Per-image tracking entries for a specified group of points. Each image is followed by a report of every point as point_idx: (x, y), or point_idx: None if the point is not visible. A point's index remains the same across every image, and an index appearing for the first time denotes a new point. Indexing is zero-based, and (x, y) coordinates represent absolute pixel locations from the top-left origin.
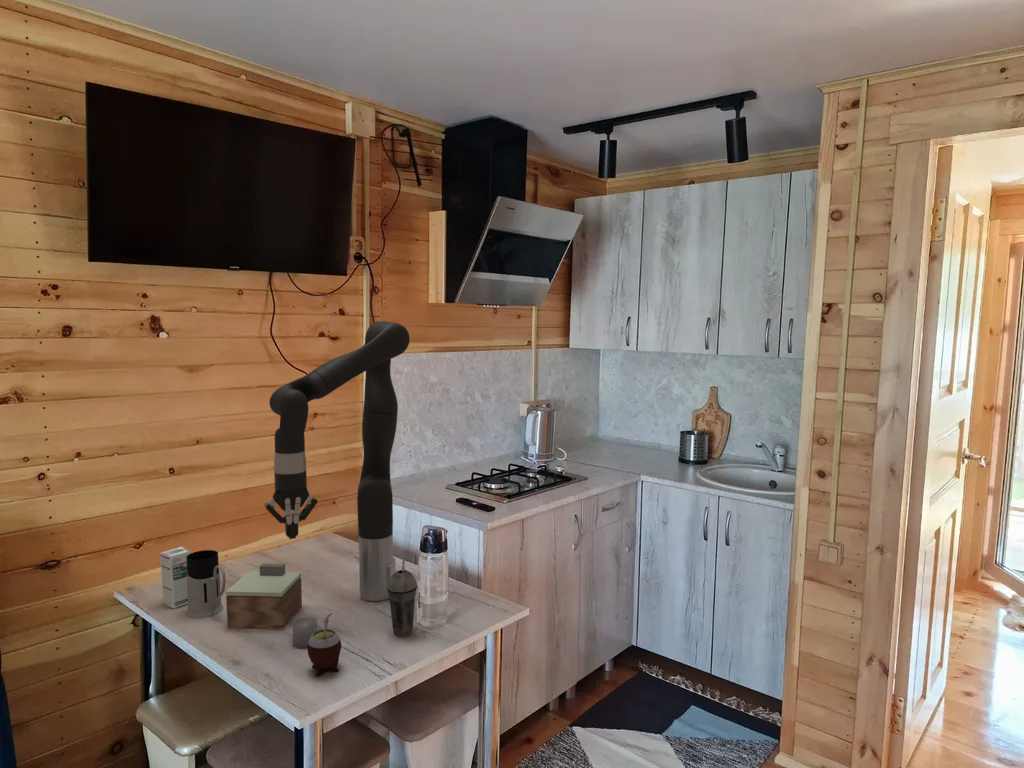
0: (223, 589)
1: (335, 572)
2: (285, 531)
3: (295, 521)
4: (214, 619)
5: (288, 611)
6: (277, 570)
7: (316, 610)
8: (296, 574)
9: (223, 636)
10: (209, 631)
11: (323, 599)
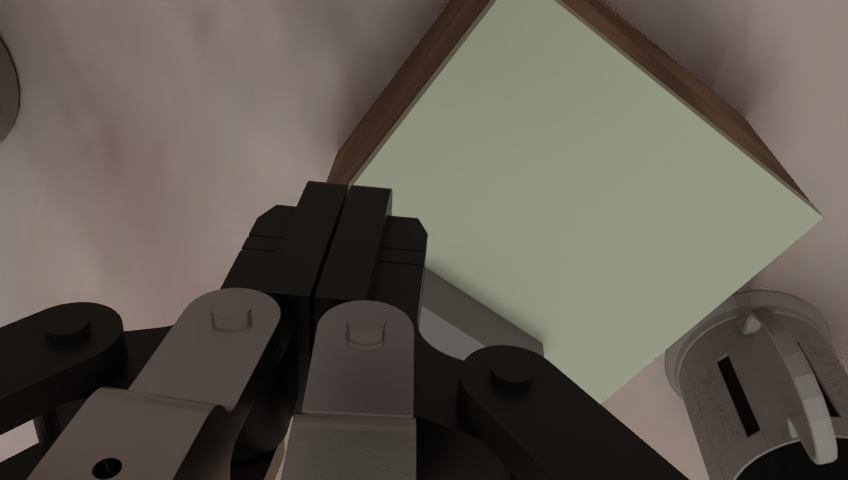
0: (766, 314)
1: None
2: (419, 320)
3: (246, 311)
4: None
5: (449, 17)
6: (447, 303)
7: (278, 62)
8: None
9: (807, 26)
10: (834, 128)
11: (216, 174)
